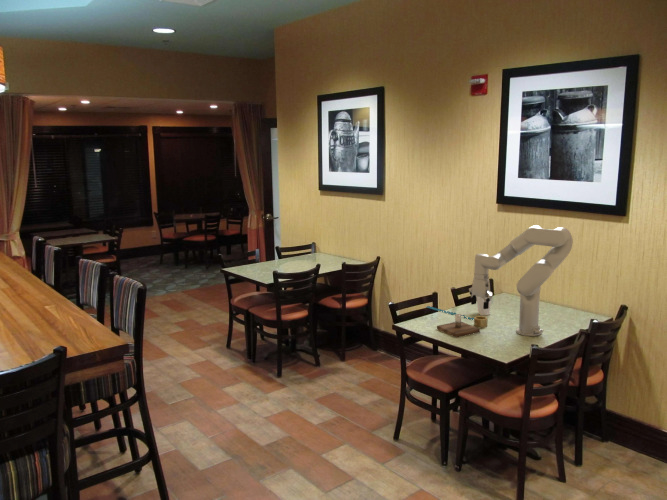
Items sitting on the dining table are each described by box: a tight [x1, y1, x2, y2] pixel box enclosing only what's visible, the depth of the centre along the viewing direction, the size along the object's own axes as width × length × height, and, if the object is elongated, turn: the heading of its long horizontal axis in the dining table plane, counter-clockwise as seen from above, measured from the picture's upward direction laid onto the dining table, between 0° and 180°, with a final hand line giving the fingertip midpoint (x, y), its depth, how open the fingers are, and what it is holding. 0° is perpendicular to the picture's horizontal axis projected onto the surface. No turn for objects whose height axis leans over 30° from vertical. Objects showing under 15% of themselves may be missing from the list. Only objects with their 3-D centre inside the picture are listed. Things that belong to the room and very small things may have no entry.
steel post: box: [454, 313, 462, 328], centre depth 290 cm, size 3×3×7 cm
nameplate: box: [425, 305, 474, 321], centre depth 323 cm, size 37×1×5 cm
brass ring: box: [473, 315, 489, 329], centre depth 298 cm, size 7×7×4 cm
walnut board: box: [436, 321, 481, 338], centre depth 291 cm, size 16×16×2 cm
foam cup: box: [476, 291, 494, 316], centre depth 318 cm, size 10×9×13 cm
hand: (479, 306), depth 296 cm, fingers open, 9 cm apart
